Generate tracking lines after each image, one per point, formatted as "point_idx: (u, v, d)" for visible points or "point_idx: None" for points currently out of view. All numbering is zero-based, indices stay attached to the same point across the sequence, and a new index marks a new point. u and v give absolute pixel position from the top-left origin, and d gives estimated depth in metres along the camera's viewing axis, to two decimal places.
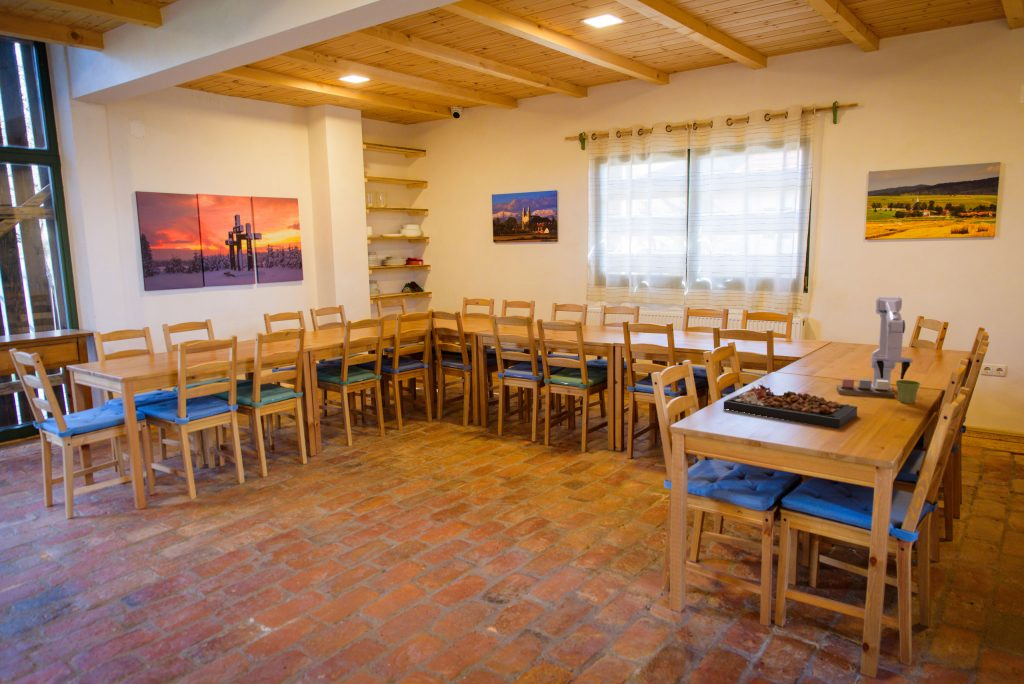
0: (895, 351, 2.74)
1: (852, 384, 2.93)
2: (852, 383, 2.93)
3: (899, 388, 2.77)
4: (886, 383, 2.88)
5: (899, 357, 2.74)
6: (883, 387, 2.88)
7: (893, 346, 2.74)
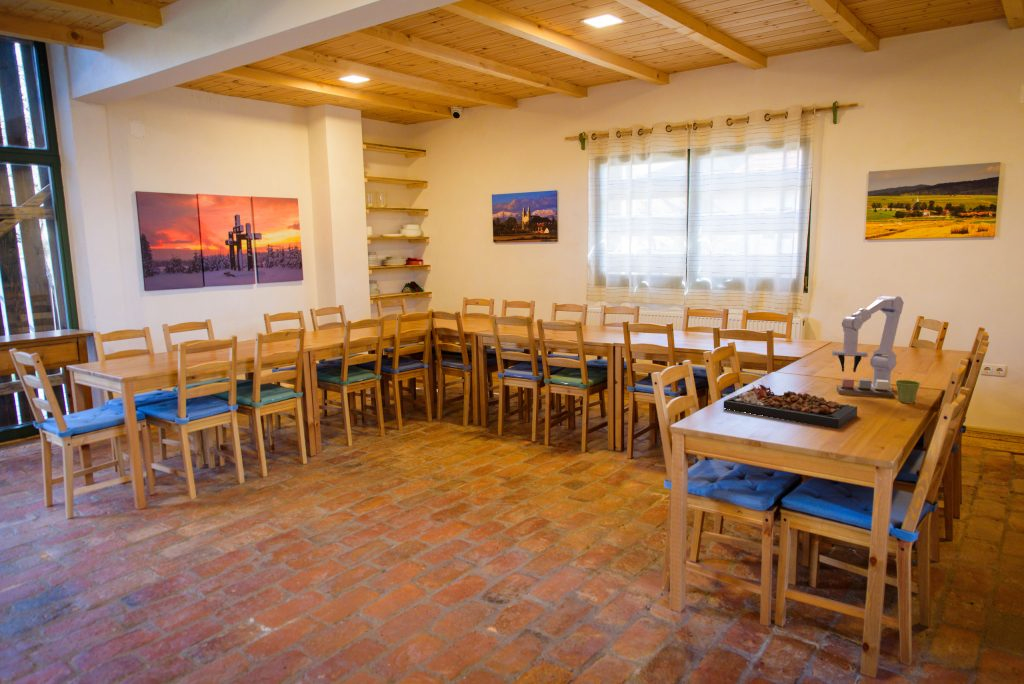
0: (851, 345, 2.91)
1: (852, 384, 2.93)
2: (852, 383, 2.93)
3: (899, 388, 2.77)
4: (886, 383, 2.88)
5: (855, 351, 2.91)
6: (883, 387, 2.88)
7: (845, 340, 2.92)
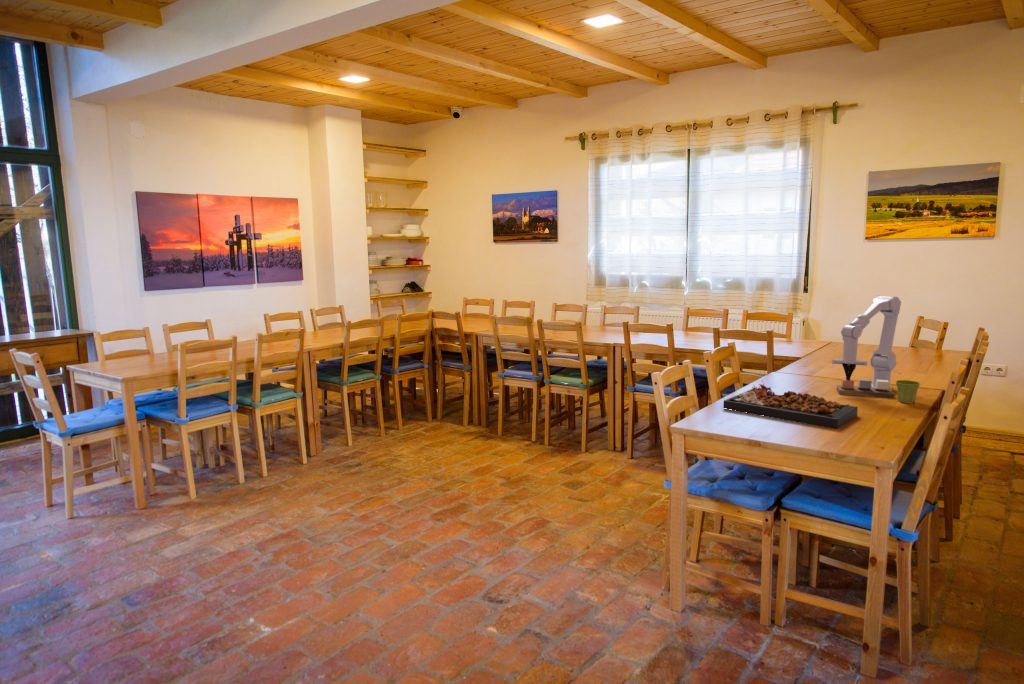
0: (850, 354, 2.91)
1: (852, 385, 2.93)
2: (852, 384, 2.93)
3: (899, 388, 2.77)
4: (886, 383, 2.88)
5: (854, 360, 2.92)
6: (883, 387, 2.88)
7: (844, 349, 2.93)
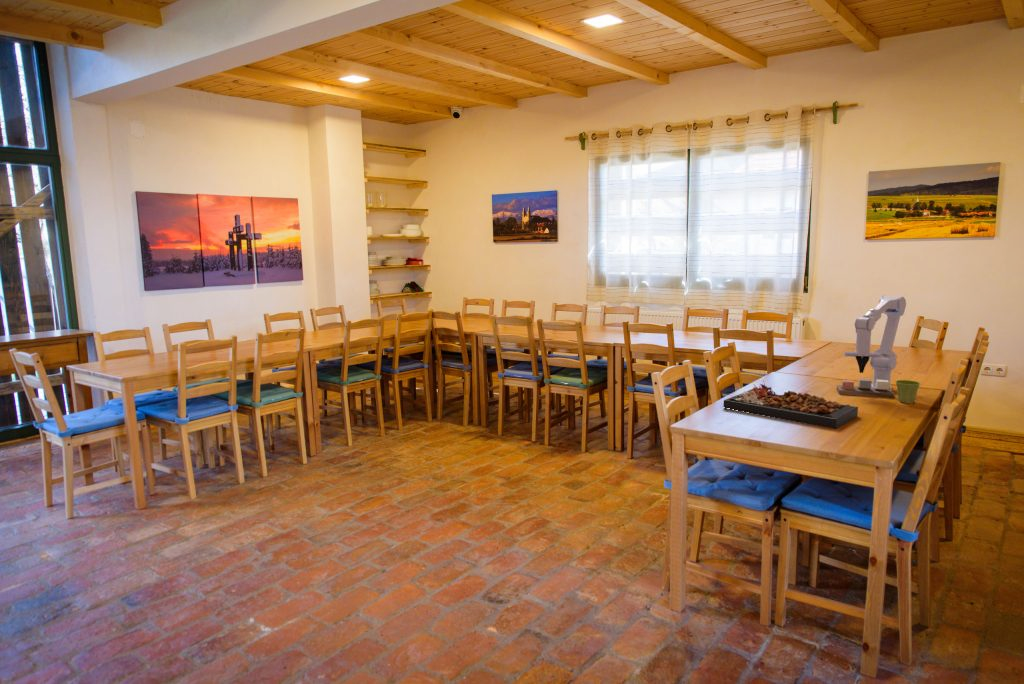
0: (864, 346, 2.89)
1: (852, 386, 2.93)
2: (852, 385, 2.93)
3: (899, 388, 2.77)
4: (886, 383, 2.88)
5: (868, 352, 2.89)
6: (883, 387, 2.88)
7: (858, 341, 2.90)
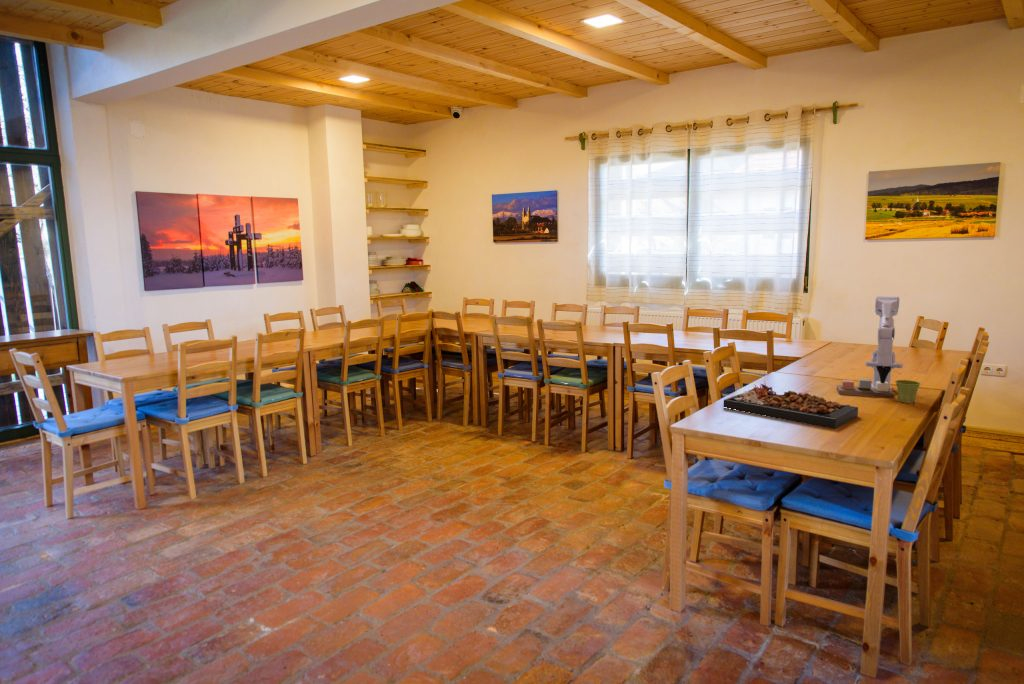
0: (885, 356, 2.86)
1: (852, 386, 2.93)
2: (852, 385, 2.93)
3: (899, 388, 2.77)
4: (886, 385, 2.88)
5: (889, 362, 2.86)
6: (883, 389, 2.89)
7: (883, 352, 2.86)
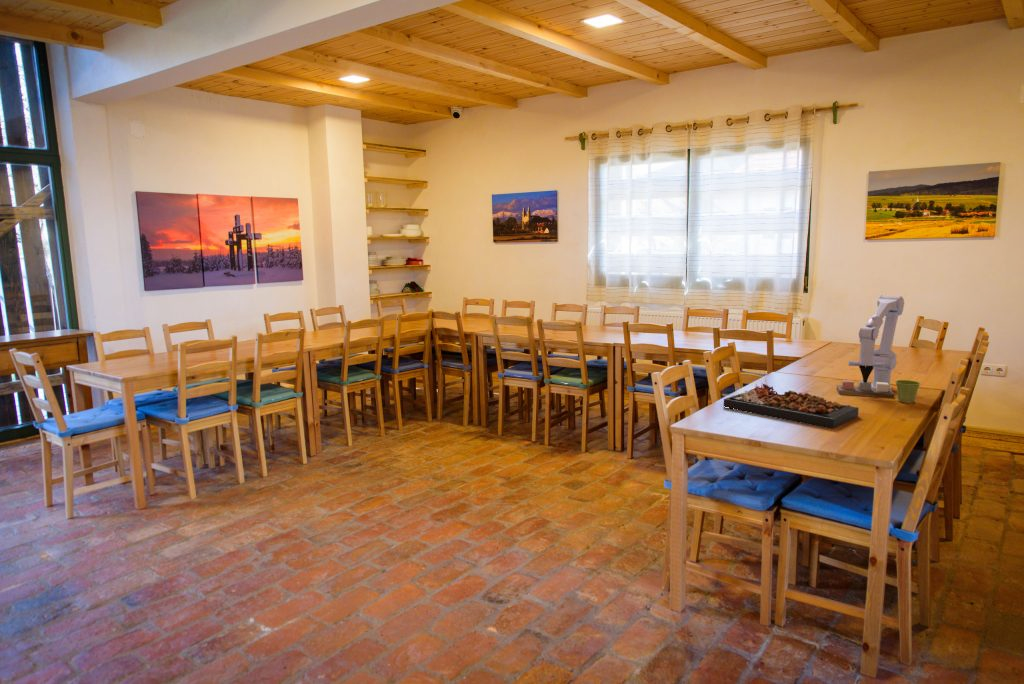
0: (868, 356, 2.89)
1: (852, 386, 2.93)
2: (852, 385, 2.93)
3: (899, 388, 2.77)
4: (886, 385, 2.88)
5: (872, 362, 2.89)
6: (883, 389, 2.89)
7: (863, 351, 2.90)
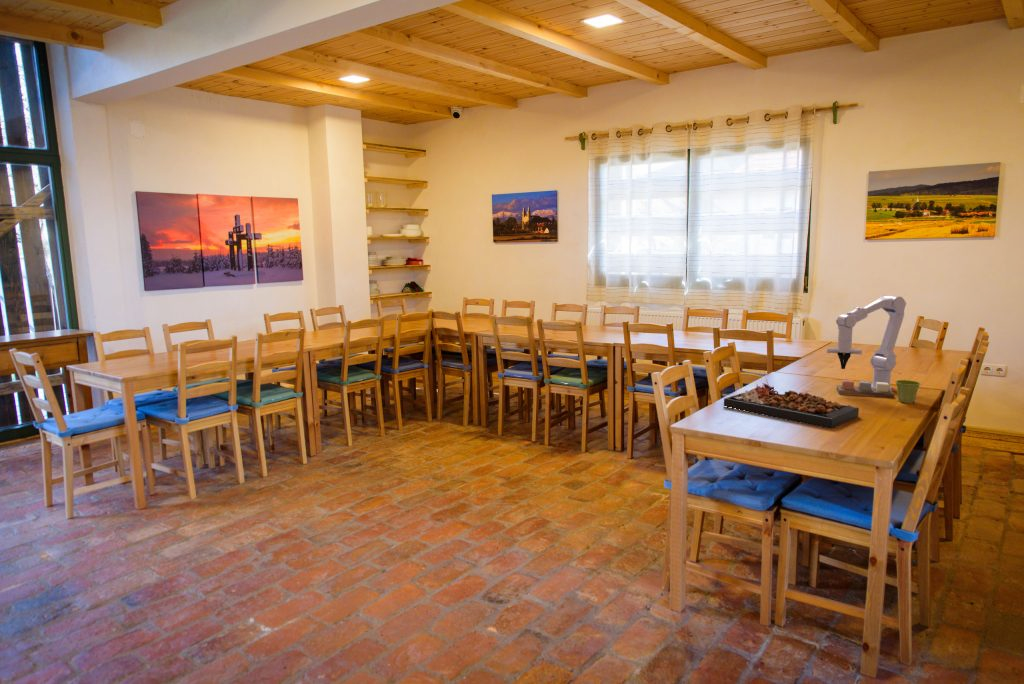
0: (845, 343, 2.95)
1: (852, 386, 2.93)
2: (852, 385, 2.93)
3: (899, 388, 2.77)
4: (886, 385, 2.88)
5: (849, 349, 2.95)
6: (883, 389, 2.89)
7: (838, 338, 2.97)
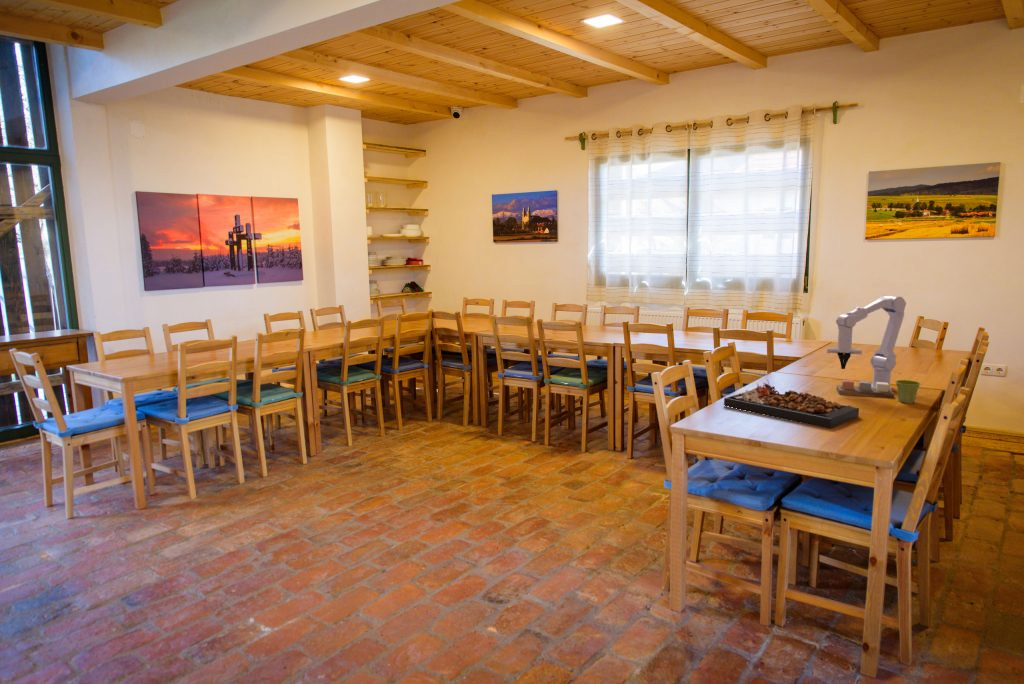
0: (845, 343, 2.95)
1: (852, 386, 2.93)
2: (852, 385, 2.93)
3: (899, 388, 2.77)
4: (886, 385, 2.88)
5: (849, 349, 2.95)
6: (883, 389, 2.89)
7: (838, 338, 2.97)
